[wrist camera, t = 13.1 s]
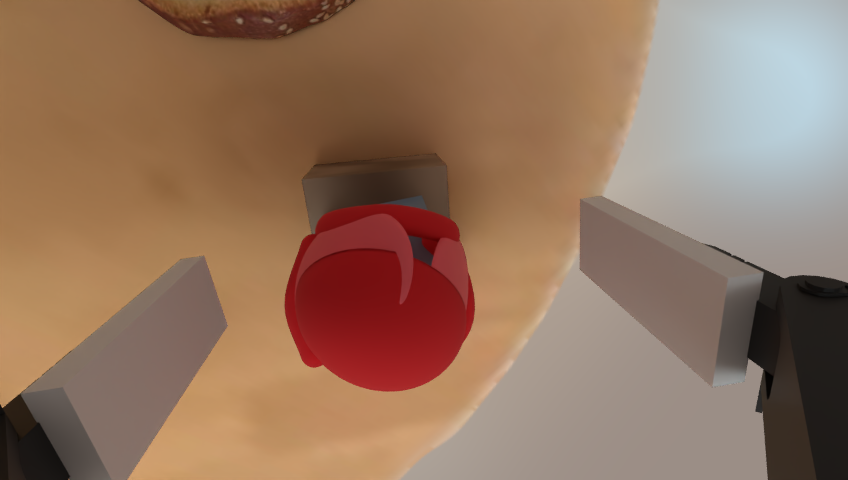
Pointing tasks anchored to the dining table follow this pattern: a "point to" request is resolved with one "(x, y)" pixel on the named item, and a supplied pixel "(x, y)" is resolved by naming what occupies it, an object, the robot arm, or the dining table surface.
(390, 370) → the cap
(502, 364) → the dining table surface
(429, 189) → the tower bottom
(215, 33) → the slice of bread
